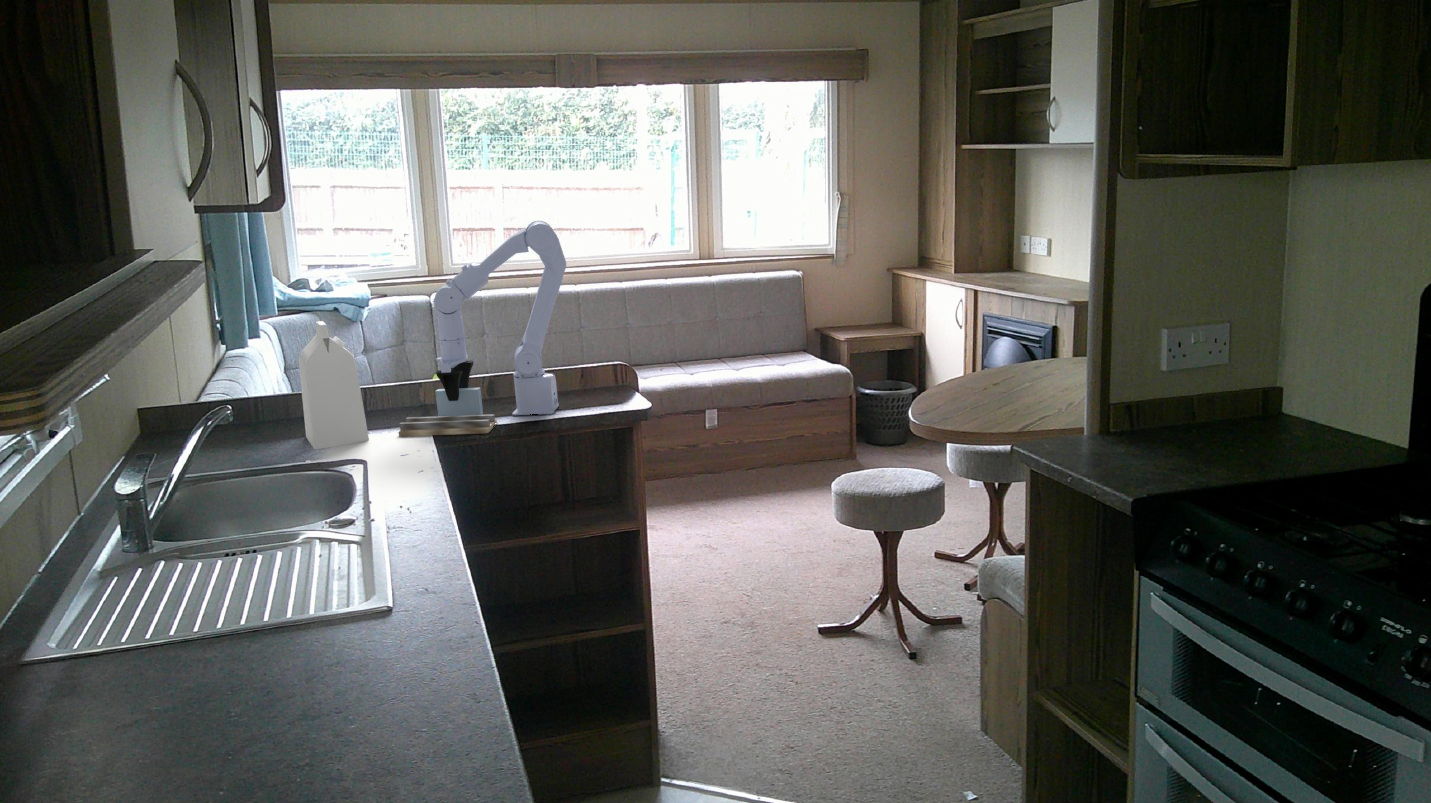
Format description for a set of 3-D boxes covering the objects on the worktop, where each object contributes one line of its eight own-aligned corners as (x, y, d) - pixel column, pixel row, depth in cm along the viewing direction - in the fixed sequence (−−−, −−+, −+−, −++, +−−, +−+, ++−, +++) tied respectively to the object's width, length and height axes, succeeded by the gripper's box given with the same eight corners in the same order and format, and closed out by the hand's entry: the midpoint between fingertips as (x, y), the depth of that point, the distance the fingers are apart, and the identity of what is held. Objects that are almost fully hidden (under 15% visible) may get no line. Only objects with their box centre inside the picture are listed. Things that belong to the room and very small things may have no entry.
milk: (306, 437, 256) (289, 322, 249) (358, 428, 261) (343, 316, 254) (314, 449, 245) (297, 330, 239) (369, 440, 250) (353, 323, 244)
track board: (497, 423, 258) (495, 412, 258) (487, 433, 250) (486, 422, 250) (410, 426, 260) (409, 415, 259) (398, 436, 252) (397, 425, 251)
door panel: (483, 416, 265) (480, 387, 264) (481, 419, 263) (477, 389, 262) (441, 418, 266) (437, 389, 264) (438, 420, 264) (435, 391, 262)
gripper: (444, 333, 267) (450, 389, 271) (425, 345, 253) (431, 404, 257) (473, 332, 267) (479, 388, 270) (456, 344, 253) (462, 403, 256)
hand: (458, 396), depth 263 cm, fingers open, 7 cm apart
